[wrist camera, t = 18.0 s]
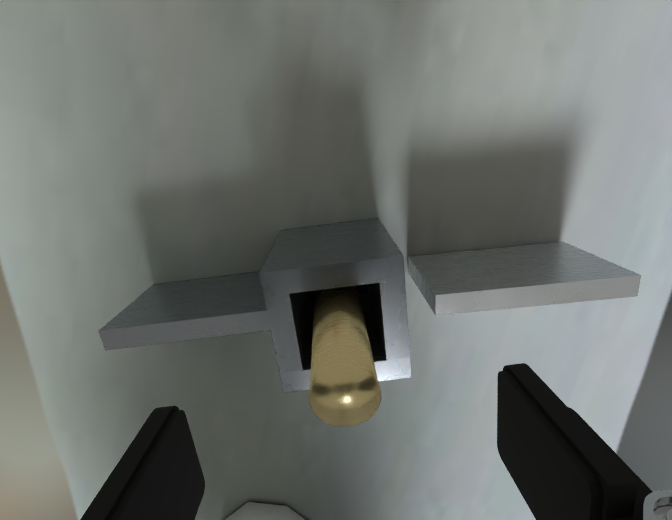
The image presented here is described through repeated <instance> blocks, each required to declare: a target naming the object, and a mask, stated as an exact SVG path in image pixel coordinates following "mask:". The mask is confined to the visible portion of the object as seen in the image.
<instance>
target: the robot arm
mask: <svg viewBox="0 0 672 520" xmlns="http://www.w3.org/2000/svg"><path fill="white" fill-rule="evenodd" d="M497 447H498V451H499V454H500V457H501V459H502V461H503V463H504V464H505V466H506V468H507V470H508V471H509V473H510V475H511V477H512V478H513V480H514V482H515V484H516V485H517V487H518V489H519V491H520V492H521V494H522V496H523V498H524V499H525V501H526V503H527V505H528V506H529V508H530V510H531V512H532V513H533V515H534V517H535V519H536V520H672V491H667V490H660V491H655V492H652V491H651V490H650V489H649V488H648V487H647V486H646V484H645V483H644V482H642V480H641V479H640V478H639V477H638V476H637V475H636V474H635V473H634V472H633V471H632V470H631V469H630V468H629V467H628V466H627V465H626V464H625V463H624V462H623V460H621V458H620V457H619V456H618V455H617V454H616V453H615V452H614V451H613V450H612V449H611V448H610V447H609V446H608V445H607V444H606V443H605V442H604V441H603V440H602V439H601V438H600V437H599V435H598V434H597V433H596V432H595V431H594V430H593V429H592V428H591V427H590V426H589V425H588V424H587V423H586V422H585V421H584V420H583V419H582V418H581V417H580V416H579V415H578V414H577V413H576V412H575V411H574V410H573V409H571V408H569V407H567V406H566V405H565V404H564V403H563V402H562V401H561V400H560V399H559V398H558V397H557V396H556V394H555V393H554V392H553V391H552V390H551V389H550V388H549V387H548V386H547V385H546V384H545V383H544V382H543V381H542V380H541V379H540V378H539V377H538V375H537V374H536V373H535V372H534V371H533V370H532V369H531V368H530V367H529V366H528V365H527V364H524V363H522V364H514V365H506V366H504V368H503V371H500V372H499V373H498V414H497ZM204 489H205V481H204V477H203V473H202V470H201V466H200V463H199V459H198V456H197V453H196V449H195V446H194V442H193V439H192V435H191V432H190V429H189V425H188V422H187V418H186V415H185V412H184V411H183V410H179V408H178V407H177V406H169V407H161V408H156V409H154V410H153V411H152V413H151V414H150V416H149V417H148V419H147V420H146V422H145V423H144V425H143V426H142V428H141V429H140V431H139V432H138V434H137V435H136V437H135V438H134V440H133V441H132V443H131V444H130V446H129V447H128V449H127V450H126V452H125V453H124V455H123V456H122V458H121V459H120V461H119V462H118V464H117V465H116V467H115V468H114V470H113V471H112V473H111V474H110V476H109V477H108V479H107V480H106V482H105V483H104V485H103V486H102V488H101V489H100V491H99V492H98V494H97V495H96V497H95V498H94V500H93V501H92V503H91V504H90V506H89V507H88V509H87V510H86V512H85V513H84V515H83V516H82V518H81V519H80V520H194V519H195V517H196V514H197V511H198V508H199V505H200V503H201V500H202V497H203V494H204Z"/></svg>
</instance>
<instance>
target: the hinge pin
mask: <svg viewBox="0 0 672 520" xmlns="http://www.w3.org/2000/svg"><path fill="white" fill-rule="evenodd" d="M380 402H381V391H380V387H379V382H378V378H377V373H376V369H375V364H374V360H373V356H372V351H371V347H370V342H369V338H368V333H367V329H366V324H365V320H364V316H363V311H362V307H361V302H360V298H359V293H358V289H357V285H355V286H347V287H339V288H331V289H323V290H315V295H314V316H313V337H312V358H311V379H310V405H311V408H312V410H313V412H314V413H315V414H316V416H317V417H319V418H320V419H321V420H322V421H324V422H326V423H328V424H331V425H334V426H341V427H346V426H354V425H357V424H360V423H362V422H364V421H366V420H368V419H369V418H370V417H371V416H372V415H373V414H374V413H375V412H376V411H377V409H378V407H379V405H380Z"/></svg>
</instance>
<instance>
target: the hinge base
mask: <svg viewBox="0 0 672 520" xmlns="http://www.w3.org/2000/svg"><path fill="white" fill-rule="evenodd" d="M363 284H367V287H368V294H364V295H359V298H360V302H361V307H362V311H363V316H364V320H365V324H366V329H367V333H368V338H369V342H370V347H371V351H372V356H373V360H374V364H375V369H376V373H377V378H378V381H385V380H394V379H402V378H410V377H411V366H410V351H409V335H408V320H407V305H406V290H405V274H404V259H403V254H402V253H401V251H400V250H399V248H398V247H397V245H396V244H395V242H394V241H393V239H392V238H391V236H390V235H389V233H388V232H387V230H386V229H385V227H384V226H383V224H382V223H381V221H380V220H379V219H378V218H375V219H367V220H359V221H351V222H343V223H335V224H327V225H319V226H311V227H303V228H295V229H287V230H281V231H280V233H279V235H278V237H277V239H276V241H275V243H274V245H273V247H272V249H271V251H270V253H269V255H268V257H267V259H266V261H265V263H264V265H263V267H262V269H261V271H259V272H251V273H243V274H235V275H227V276H219V277H211V278H202V279H194V280H186V281H178V282H170V283H162V284H154V285H152V286H151V287H150V288H149V289H148V290H147V291H145V292H144V293H143V294H142V295H141V296H139V297H138V298H137V299H136V300H135V301H133V302H132V303H131V304H130V305H129V306H128V307H126V308H125V309H124V310H123V311H122V312H120V313H119V314H118V315H117V316H116V317H114V318H113V319H112V320H111V321H110V322H108V323H107V324H106V325H105V326H104V327H103V328H101V329H100V330H99V334H100V337H101V339H102V342H103V345H104V347H105V350H111V349H119V348H128V347H136V346H144V345H152V344H160V343H169V342H177V341H185V340H193V339H202V338H210V337H218V336H226V335H234V334H243V333H251V332H259V331H267V330H271V334H272V339H273V343H274V348H275V353H276V358H277V363H278V368H279V373H280V378H281V383H282V388H283V393H285V392H293V391H302V390H310V379H311V358H312V337H313V316H314V301H310V300H309V294H308V291H314V290H323V289H331V288H339V287H347V286H355V285H363Z"/></svg>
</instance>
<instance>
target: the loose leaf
mask: <svg viewBox="0 0 672 520" xmlns="http://www.w3.org/2000/svg"><path fill="white" fill-rule="evenodd" d="M408 263H409V274H410V275H411V277H412V279H413V280H414V282H415V283H416V285H417V287H418V288H419V290H420V291H421V293H422V295H423V296H424V298H425V299H426V301H427V303H428V304H429V306H430V307H431V309H432V311H433V312H434V314H435V315H436V316H437V315H447V314H458V313H468V312H478V311H489V310H499V309H510V308H520V307H530V306H541V305H551V304H561V303H572V302H582V301H592V300H603V299H613V298H623V297H634V296H637V295H638V289H639V284H640V279H641V275H639V274H637V273H635V272H632V271H630V270H628V269H625V268H623V267H621V266H618V265H616V264H614V263H611V262H609V261H607V260H604V259H602V258H600V257H598V256H595V255H593V254H591V253H588V252H586V251H584V250H581V249H579V248H577V247H574V246H572V245H570V244H567V243H565V242H554V243H543V244H533V245H523V246H513V247H502V248H492V249H482V250H471V251H461V252H451V253H441V254H430V255H420V256H410V257H408Z"/></svg>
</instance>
